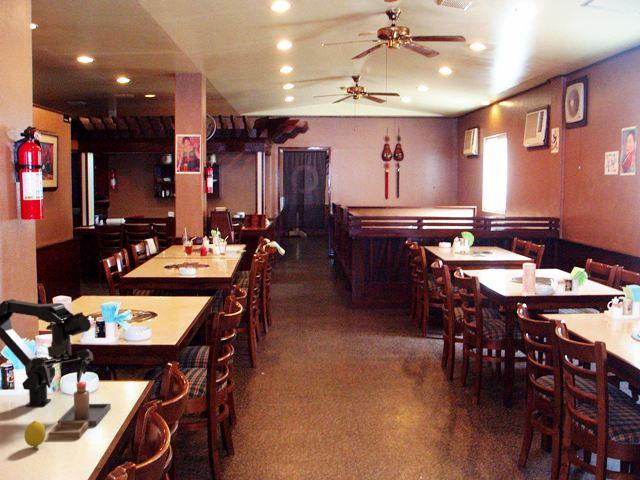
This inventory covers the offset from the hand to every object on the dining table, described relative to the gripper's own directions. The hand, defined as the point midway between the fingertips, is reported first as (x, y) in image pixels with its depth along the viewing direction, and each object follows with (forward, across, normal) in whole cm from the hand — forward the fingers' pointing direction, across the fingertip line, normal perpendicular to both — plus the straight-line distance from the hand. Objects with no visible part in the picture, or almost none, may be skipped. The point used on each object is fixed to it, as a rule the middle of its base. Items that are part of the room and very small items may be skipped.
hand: (63, 385), depth 207 cm
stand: (+17, +3, -10) cm, 20 cm away
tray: (+12, +6, +2) cm, 13 cm away
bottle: (+12, +5, -1) cm, 13 cm away
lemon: (+21, -4, -19) cm, 29 cm away
